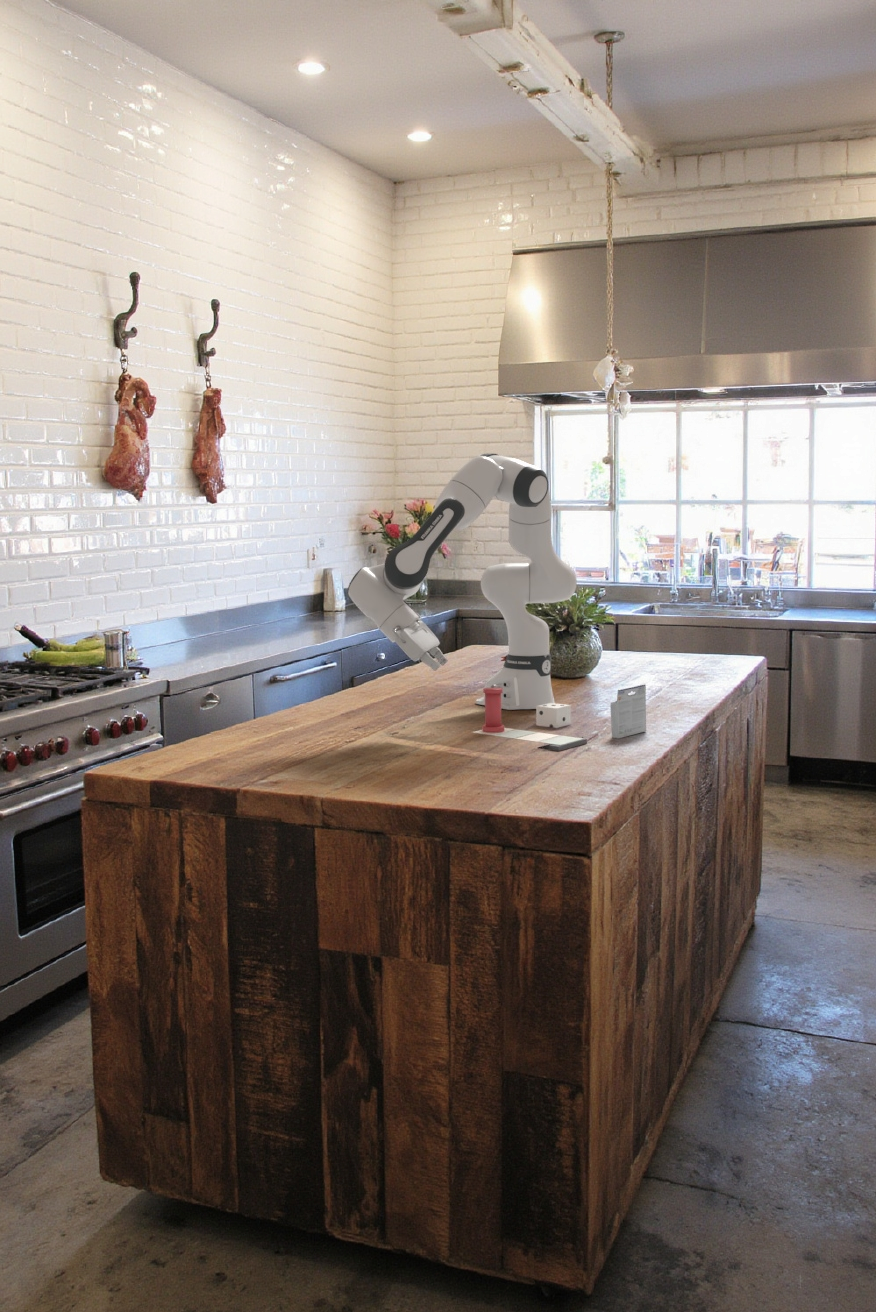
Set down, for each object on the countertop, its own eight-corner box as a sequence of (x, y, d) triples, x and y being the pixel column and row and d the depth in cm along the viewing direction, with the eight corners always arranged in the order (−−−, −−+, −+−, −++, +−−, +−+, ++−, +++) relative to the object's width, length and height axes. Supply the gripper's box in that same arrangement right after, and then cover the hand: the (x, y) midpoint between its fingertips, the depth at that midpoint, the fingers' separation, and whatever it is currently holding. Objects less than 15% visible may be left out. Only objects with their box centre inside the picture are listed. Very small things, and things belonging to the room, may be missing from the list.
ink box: (638, 731, 278) (639, 683, 277) (646, 732, 276) (647, 684, 275) (609, 737, 270) (609, 688, 269) (617, 739, 268) (617, 689, 267)
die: (536, 730, 281) (536, 705, 280) (550, 726, 285) (550, 702, 285) (556, 733, 277) (556, 708, 276) (571, 729, 281) (571, 704, 281)
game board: (468, 737, 272) (468, 732, 272) (497, 730, 281) (497, 725, 281) (558, 751, 255) (558, 745, 255) (586, 743, 264) (586, 738, 264)
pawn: (477, 731, 274) (477, 689, 273) (491, 727, 278) (491, 686, 277) (495, 733, 271) (494, 691, 269) (508, 730, 275) (508, 688, 273)
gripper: (400, 619, 265) (442, 662, 264) (418, 612, 285) (458, 651, 284) (381, 638, 266) (423, 681, 265) (401, 630, 286) (441, 669, 285)
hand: (442, 666), depth 275 cm, fingers open, 8 cm apart
